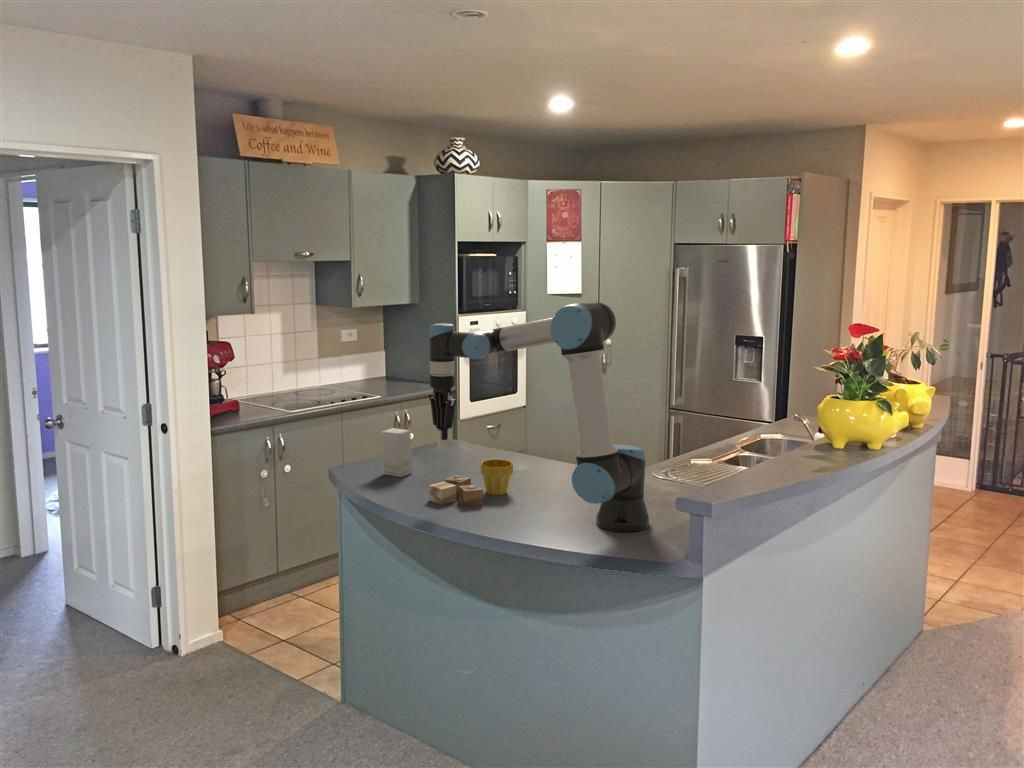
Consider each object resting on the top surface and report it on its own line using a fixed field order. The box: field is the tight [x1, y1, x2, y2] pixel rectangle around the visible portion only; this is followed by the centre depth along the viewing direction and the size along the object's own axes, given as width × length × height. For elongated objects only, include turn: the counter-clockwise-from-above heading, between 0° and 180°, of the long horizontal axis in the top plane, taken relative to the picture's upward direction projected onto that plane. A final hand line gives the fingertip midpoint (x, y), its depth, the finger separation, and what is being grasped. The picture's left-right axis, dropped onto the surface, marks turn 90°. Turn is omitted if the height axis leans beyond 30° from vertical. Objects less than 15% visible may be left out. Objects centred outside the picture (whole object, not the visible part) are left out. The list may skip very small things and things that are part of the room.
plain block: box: [428, 481, 457, 505], centre depth 269 cm, size 6×6×5 cm
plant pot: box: [480, 458, 514, 496], centre depth 277 cm, size 10×10×10 cm
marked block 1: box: [444, 474, 472, 498], centre depth 277 cm, size 6×6×5 cm
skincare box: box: [380, 427, 413, 478], centre depth 297 cm, size 8×7×16 cm
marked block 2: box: [458, 483, 484, 508], centre depth 266 cm, size 6×6×5 cm
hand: (442, 449), depth 266 cm, fingers closed
